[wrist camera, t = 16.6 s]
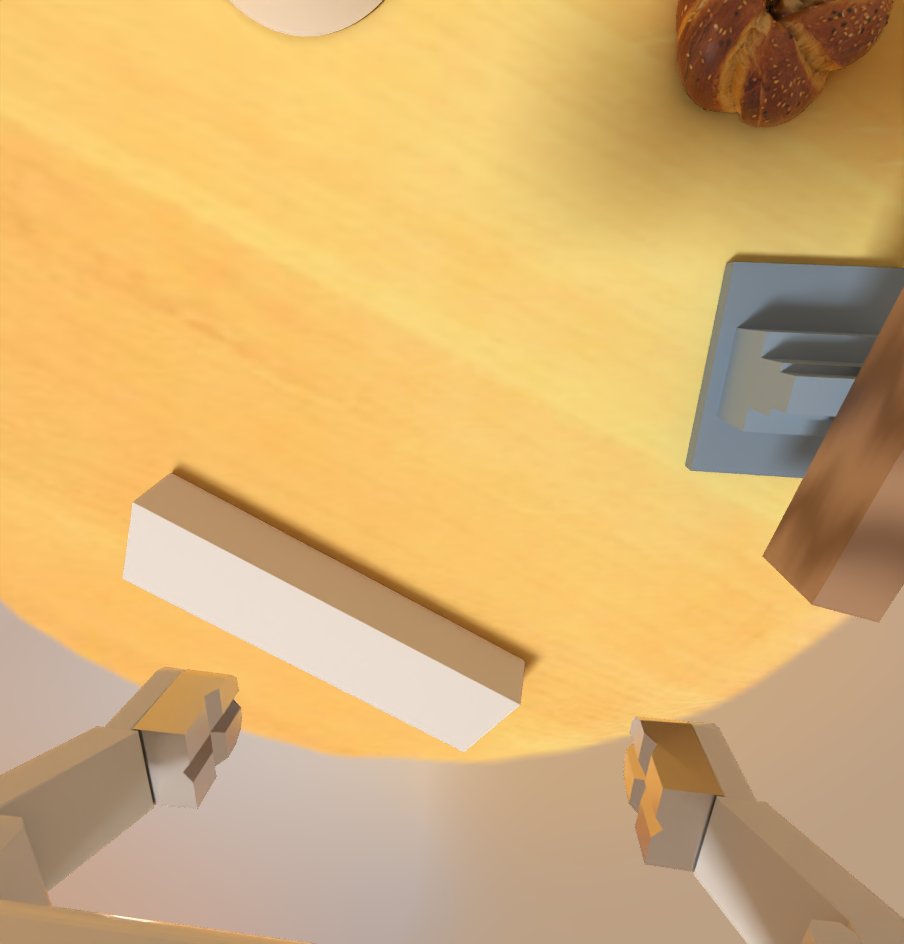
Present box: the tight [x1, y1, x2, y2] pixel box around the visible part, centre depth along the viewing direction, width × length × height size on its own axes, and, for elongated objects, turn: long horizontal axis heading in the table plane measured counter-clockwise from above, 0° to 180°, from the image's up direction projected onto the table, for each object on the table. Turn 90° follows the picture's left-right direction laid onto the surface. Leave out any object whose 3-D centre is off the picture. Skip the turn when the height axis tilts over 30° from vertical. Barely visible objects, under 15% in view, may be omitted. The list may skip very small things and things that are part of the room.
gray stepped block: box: [685, 262, 904, 478], centre depth 31 cm, size 14×11×9 cm
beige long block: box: [123, 473, 525, 752], centre depth 44 cm, size 34×5×10 cm
